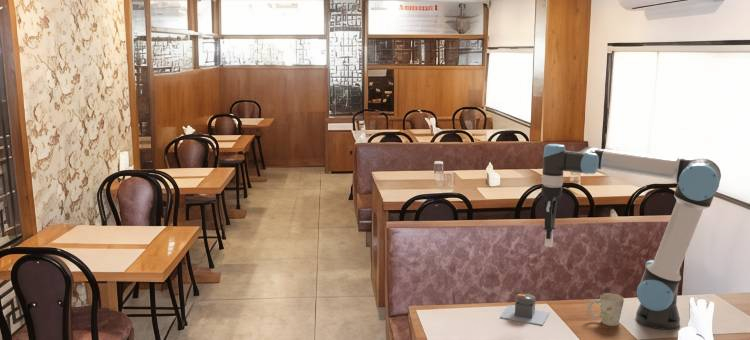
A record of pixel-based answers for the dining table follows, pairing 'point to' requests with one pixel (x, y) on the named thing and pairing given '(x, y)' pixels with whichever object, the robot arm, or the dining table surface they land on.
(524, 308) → the knob
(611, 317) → the mug
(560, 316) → the dining table surface
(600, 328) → the dining table surface
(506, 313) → the shaft board
